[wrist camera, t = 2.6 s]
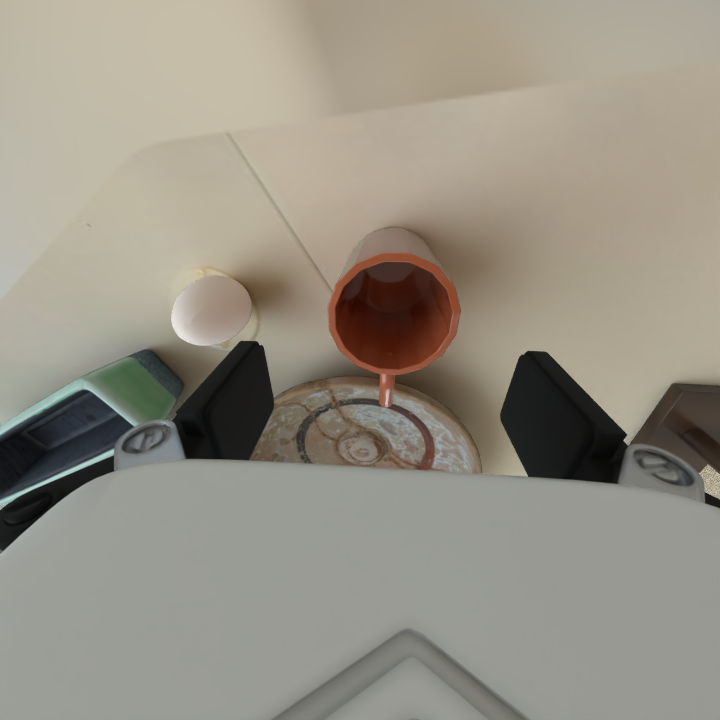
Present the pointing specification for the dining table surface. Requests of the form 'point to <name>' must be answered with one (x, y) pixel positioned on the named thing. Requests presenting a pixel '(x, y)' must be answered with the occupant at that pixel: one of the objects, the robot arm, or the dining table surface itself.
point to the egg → (211, 311)
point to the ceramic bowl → (365, 429)
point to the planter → (83, 422)
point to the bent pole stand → (686, 425)
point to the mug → (393, 307)
